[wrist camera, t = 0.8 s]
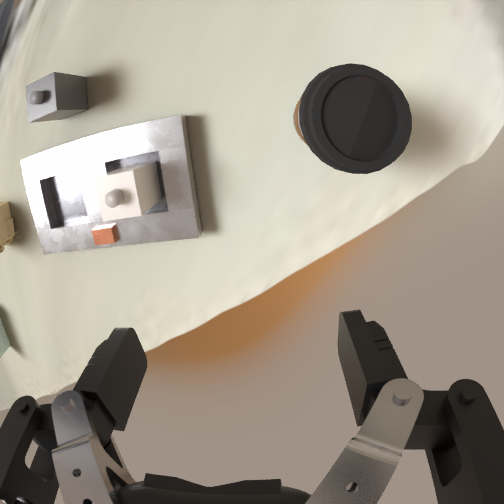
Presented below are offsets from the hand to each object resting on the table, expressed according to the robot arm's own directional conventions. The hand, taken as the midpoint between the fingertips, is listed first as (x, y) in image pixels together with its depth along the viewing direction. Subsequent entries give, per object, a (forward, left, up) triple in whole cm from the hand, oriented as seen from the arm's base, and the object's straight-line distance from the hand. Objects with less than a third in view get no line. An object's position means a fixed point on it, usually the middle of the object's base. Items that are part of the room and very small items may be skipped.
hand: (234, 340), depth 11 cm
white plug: (-3, -13, -25) cm, 28 cm away
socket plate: (-3, -18, -26) cm, 32 cm away
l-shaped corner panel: (+18, -61, -26) cm, 69 cm away
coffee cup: (-8, +9, -26) cm, 29 cm away
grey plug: (-16, -21, -26) cm, 37 cm away
